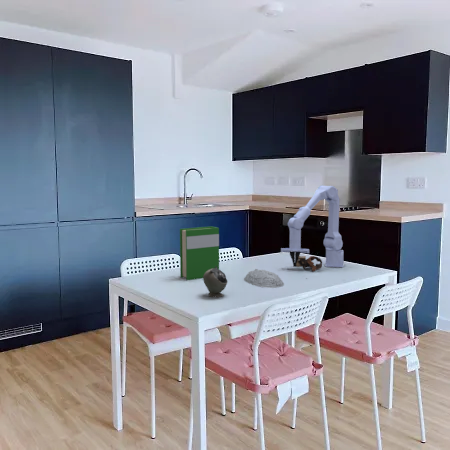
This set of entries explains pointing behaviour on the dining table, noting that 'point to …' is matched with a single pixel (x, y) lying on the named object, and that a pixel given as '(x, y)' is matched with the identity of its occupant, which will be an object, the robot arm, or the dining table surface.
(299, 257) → the letter cube
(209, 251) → the hardback book
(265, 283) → the grey rock
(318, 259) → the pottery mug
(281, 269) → the dining table surface
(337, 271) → the dining table surface
